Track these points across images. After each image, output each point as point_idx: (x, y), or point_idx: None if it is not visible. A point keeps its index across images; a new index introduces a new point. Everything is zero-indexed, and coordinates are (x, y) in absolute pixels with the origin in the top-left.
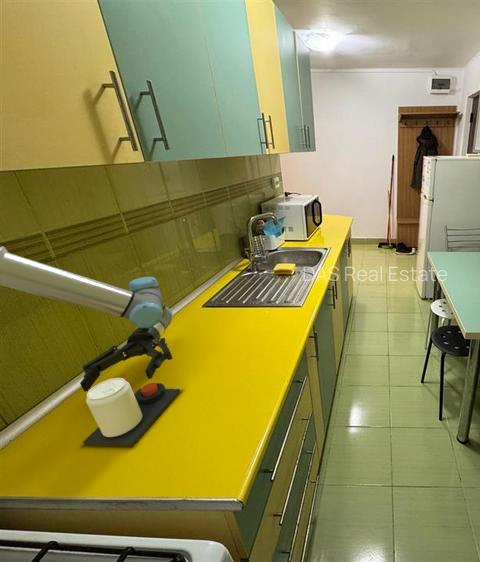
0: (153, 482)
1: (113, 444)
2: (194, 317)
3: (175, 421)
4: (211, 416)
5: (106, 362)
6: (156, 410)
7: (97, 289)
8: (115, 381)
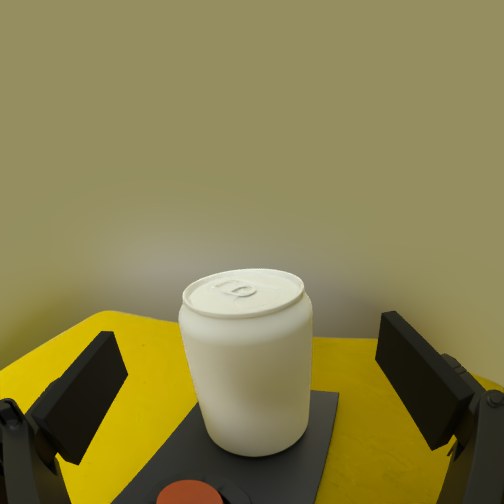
0: (175, 333)
1: None
2: None
3: (135, 415)
4: None
5: (459, 482)
6: (174, 447)
7: None
8: (227, 310)
